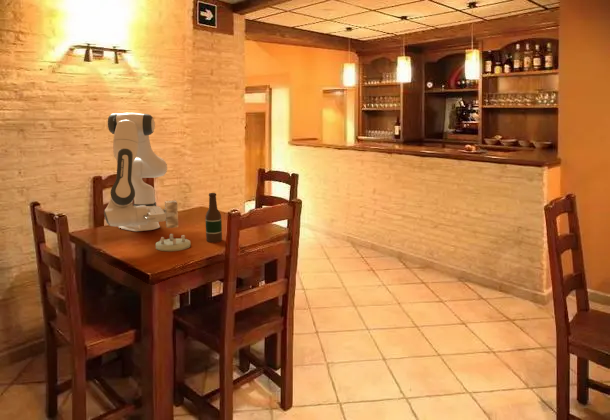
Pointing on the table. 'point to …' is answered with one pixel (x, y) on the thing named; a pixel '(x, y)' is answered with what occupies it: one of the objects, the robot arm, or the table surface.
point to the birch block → (173, 220)
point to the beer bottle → (213, 221)
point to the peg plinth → (170, 246)
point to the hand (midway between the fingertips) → (173, 212)
